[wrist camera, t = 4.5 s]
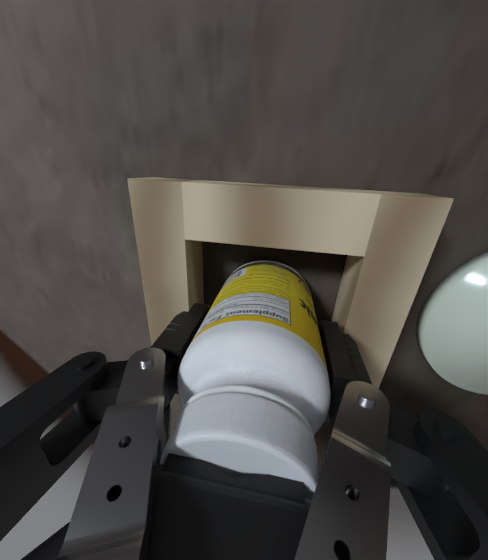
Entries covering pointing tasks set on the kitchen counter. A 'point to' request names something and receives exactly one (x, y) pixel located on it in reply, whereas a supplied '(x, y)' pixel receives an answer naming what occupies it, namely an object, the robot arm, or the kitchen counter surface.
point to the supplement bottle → (255, 379)
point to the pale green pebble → (458, 326)
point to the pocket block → (291, 246)
